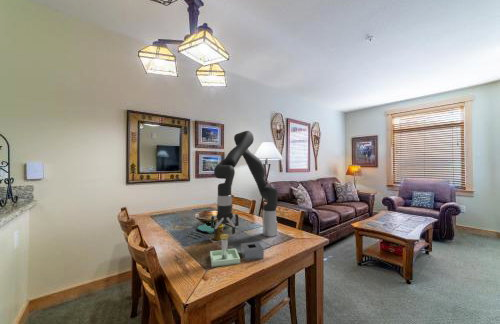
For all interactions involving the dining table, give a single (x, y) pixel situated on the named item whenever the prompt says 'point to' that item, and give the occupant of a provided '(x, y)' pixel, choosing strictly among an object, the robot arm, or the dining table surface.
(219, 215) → the robot arm
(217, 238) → the condiment
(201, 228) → the cutlery set
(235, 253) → the tray
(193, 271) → the dining table surface
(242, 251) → the socket block
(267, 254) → the dining table surface
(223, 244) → the pin
